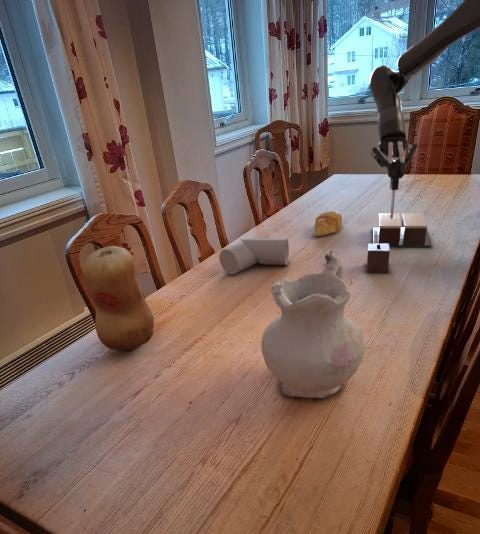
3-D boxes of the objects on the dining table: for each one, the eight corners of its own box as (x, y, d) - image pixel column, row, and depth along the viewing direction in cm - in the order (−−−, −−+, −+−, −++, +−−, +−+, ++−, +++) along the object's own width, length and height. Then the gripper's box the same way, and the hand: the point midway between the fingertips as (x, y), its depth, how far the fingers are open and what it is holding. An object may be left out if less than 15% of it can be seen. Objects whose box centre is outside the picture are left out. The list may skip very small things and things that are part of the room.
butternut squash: (93, 362, 100) (61, 263, 88) (115, 331, 112) (89, 240, 99) (149, 362, 98) (125, 261, 86) (166, 331, 110) (146, 238, 97)
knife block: (387, 264, 133) (389, 243, 129) (387, 273, 128) (389, 250, 124) (366, 264, 134) (368, 243, 131) (366, 272, 129) (368, 250, 126)
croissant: (323, 248, 158) (332, 231, 153) (301, 233, 160) (309, 215, 155) (344, 229, 173) (354, 212, 167) (324, 215, 175) (332, 199, 169)
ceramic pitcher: (286, 347, 100) (273, 247, 89) (372, 353, 93) (370, 244, 81) (255, 408, 83) (234, 294, 72) (358, 422, 76) (353, 296, 64)
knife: (393, 216, 135) (398, 160, 127) (395, 219, 133) (400, 161, 124) (387, 216, 135) (392, 160, 127) (389, 219, 133) (394, 162, 124)
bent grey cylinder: (257, 247, 152) (215, 266, 141) (260, 219, 146) (217, 237, 134) (296, 267, 143) (255, 290, 131) (301, 239, 136) (258, 260, 125)
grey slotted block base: (424, 229, 156) (427, 211, 153) (430, 247, 141) (433, 227, 138) (373, 229, 161) (374, 211, 157) (373, 247, 146) (374, 227, 143)
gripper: (370, 120, 127) (375, 171, 123) (418, 115, 126) (425, 167, 121) (365, 136, 134) (370, 185, 130) (411, 133, 133) (417, 182, 129)
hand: (396, 176), depth 126 cm, fingers closed on knife, 2 cm apart
